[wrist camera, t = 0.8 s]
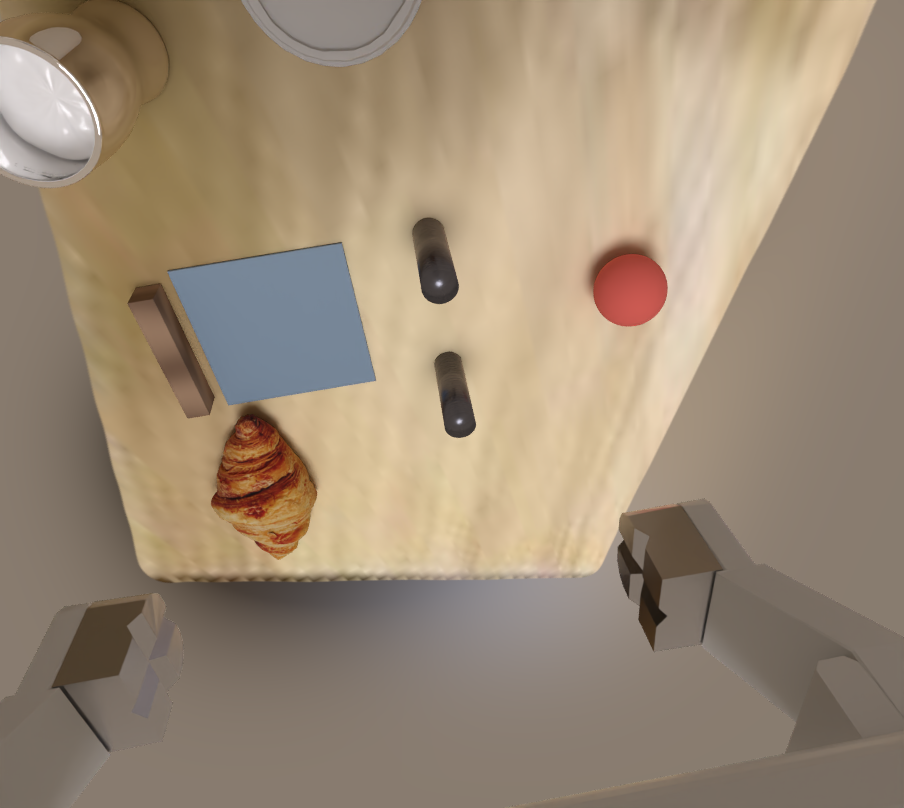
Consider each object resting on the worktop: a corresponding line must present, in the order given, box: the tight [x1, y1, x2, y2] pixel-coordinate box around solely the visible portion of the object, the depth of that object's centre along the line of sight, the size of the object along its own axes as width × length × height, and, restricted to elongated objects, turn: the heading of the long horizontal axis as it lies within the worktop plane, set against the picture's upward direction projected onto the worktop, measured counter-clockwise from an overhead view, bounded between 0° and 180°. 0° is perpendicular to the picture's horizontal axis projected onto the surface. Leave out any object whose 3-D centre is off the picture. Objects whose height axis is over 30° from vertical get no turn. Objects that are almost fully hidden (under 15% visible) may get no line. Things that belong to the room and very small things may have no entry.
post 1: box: [413, 218, 459, 304], centre depth 47 cm, size 3×3×9 cm
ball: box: [593, 254, 668, 326], centre depth 52 cm, size 6×6×6 cm
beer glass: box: [0, 0, 169, 188], centre depth 34 cm, size 7×7×15 cm
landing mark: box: [168, 242, 376, 405], centre depth 54 cm, size 14×14×1 cm
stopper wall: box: [127, 284, 214, 418], centre depth 53 cm, size 12×2×2 cm, turn 7°
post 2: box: [434, 352, 476, 438], centre depth 55 cm, size 3×3×9 cm
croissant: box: [211, 414, 317, 560], centre depth 63 cm, size 21×10×8 cm, turn 0°
